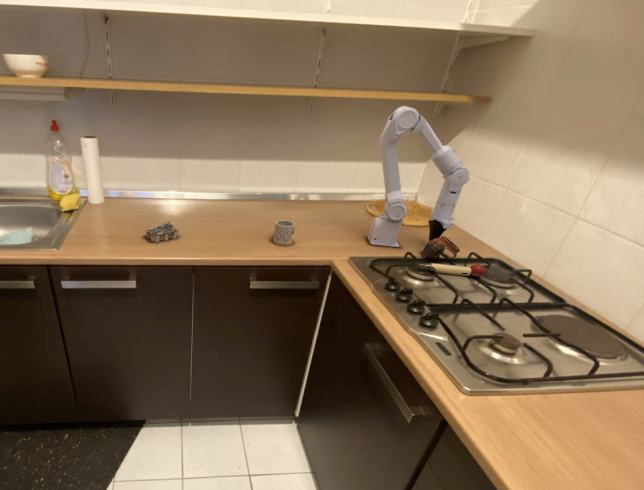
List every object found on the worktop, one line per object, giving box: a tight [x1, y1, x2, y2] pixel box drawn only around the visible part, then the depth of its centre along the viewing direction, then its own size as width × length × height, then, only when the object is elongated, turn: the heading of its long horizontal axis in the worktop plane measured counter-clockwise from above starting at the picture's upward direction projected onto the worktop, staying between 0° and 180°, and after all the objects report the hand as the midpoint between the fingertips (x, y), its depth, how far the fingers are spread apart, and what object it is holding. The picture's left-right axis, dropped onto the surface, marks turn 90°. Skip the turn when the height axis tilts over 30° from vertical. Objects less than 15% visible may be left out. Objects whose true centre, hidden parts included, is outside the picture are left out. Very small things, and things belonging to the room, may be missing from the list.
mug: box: [272, 219, 296, 246], centre depth 135 cm, size 10×7×7 cm, turn 9°
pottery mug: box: [421, 235, 461, 259], centre depth 125 cm, size 12×9×8 cm
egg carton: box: [144, 221, 180, 243], centre depth 133 cm, size 11×8×4 cm
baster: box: [419, 262, 486, 278], centre depth 116 cm, size 18×4×4 cm, turn 79°
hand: (432, 241), depth 134 cm, fingers closed
